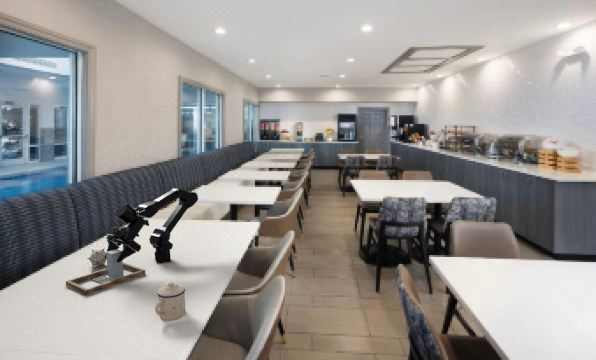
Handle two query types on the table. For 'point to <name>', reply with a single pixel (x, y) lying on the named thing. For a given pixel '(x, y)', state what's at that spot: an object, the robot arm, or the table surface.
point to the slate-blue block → (114, 264)
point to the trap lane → (103, 279)
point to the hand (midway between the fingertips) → (111, 259)
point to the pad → (112, 278)
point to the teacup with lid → (171, 302)
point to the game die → (97, 258)
